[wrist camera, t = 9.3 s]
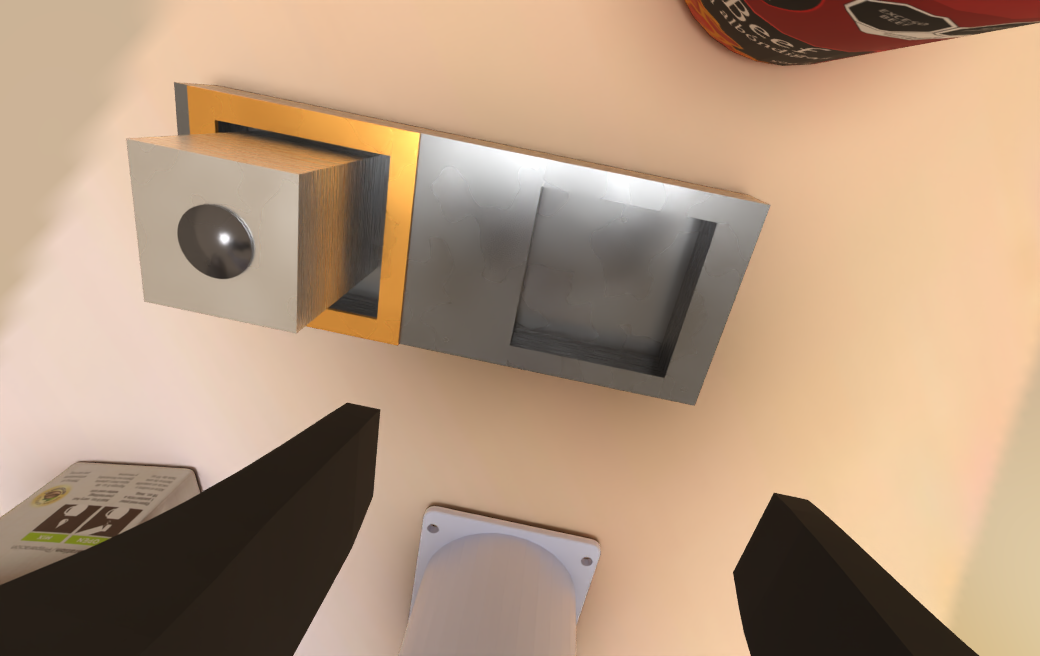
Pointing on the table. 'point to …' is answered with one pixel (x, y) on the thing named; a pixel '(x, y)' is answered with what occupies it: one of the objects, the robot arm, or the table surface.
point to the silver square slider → (254, 223)
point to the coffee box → (86, 511)
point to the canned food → (849, 25)
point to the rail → (525, 250)
